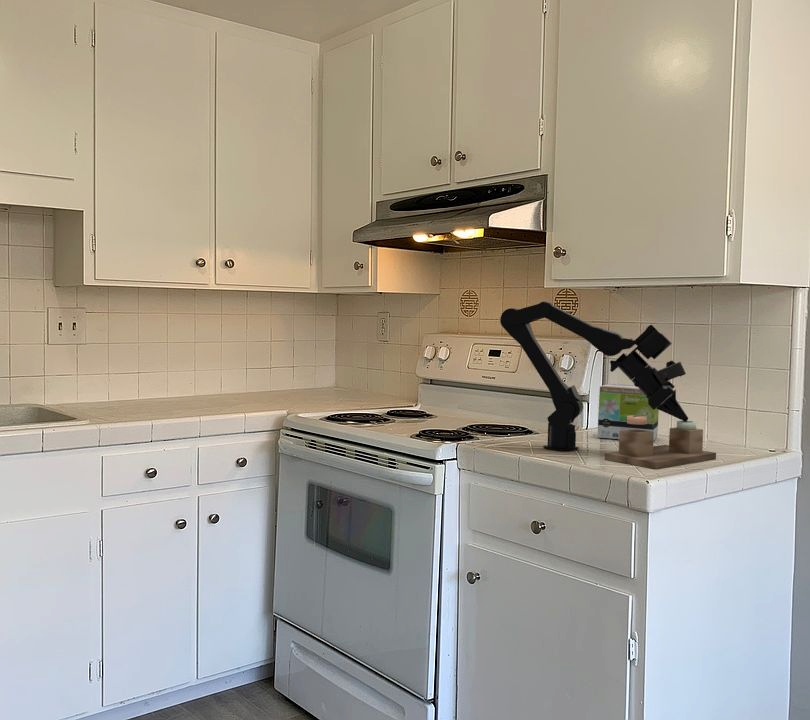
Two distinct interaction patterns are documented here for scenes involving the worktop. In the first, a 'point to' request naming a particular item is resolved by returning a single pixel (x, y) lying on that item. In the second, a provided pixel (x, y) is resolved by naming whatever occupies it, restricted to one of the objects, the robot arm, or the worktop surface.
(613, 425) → the tea box
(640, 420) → the button
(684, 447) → the console
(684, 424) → the button
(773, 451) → the worktop surface
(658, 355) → the robot arm
